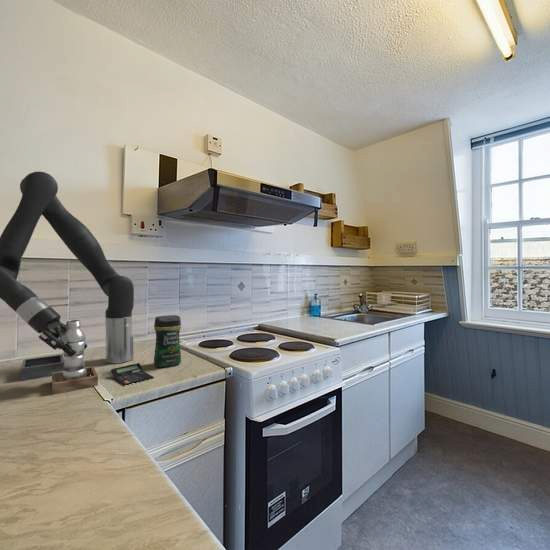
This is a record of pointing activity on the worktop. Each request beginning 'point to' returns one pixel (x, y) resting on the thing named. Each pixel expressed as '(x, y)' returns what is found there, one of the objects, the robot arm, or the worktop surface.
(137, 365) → the calculator
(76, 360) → the silver metal bottle
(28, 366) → the gray square tray
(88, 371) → the wooden square tray
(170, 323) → the coffee jar
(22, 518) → the worktop surface
